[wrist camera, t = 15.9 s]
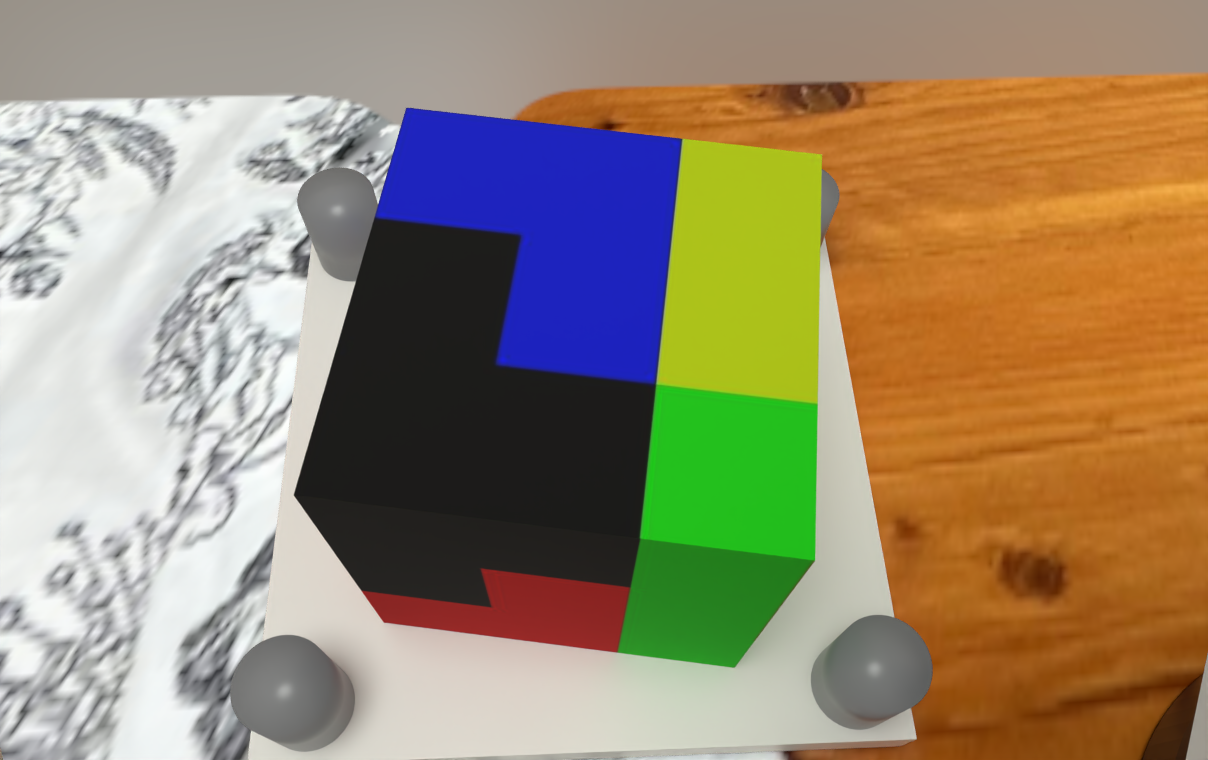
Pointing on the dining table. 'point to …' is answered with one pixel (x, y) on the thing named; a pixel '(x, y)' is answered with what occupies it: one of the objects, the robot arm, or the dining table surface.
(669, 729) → the stub base
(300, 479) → the puzzle toy
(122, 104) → the dining table surface
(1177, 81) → the dining table surface
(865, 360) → the dining table surface
